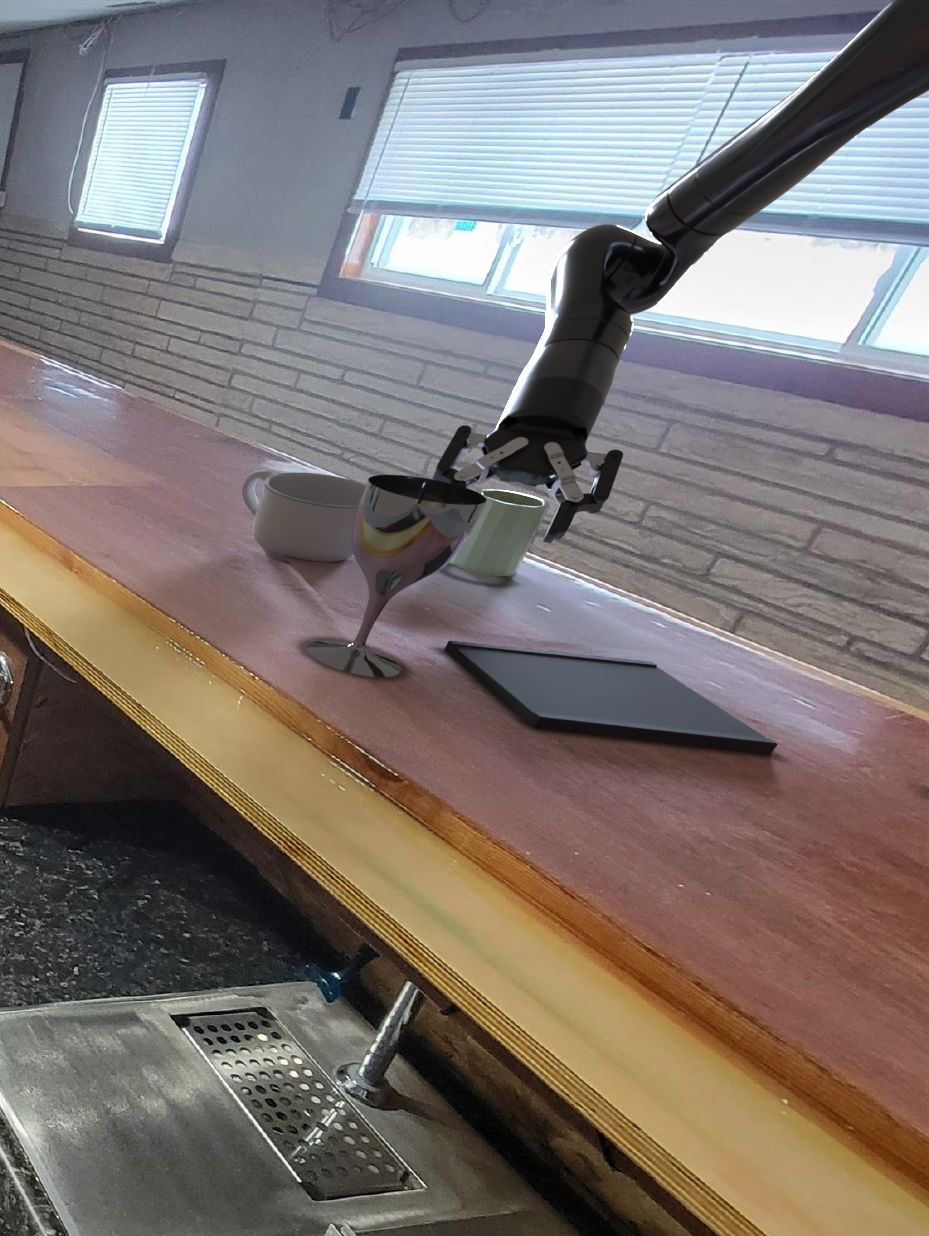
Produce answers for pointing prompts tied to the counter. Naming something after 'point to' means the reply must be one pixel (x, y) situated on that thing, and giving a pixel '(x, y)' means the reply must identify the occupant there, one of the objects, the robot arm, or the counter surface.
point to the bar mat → (604, 697)
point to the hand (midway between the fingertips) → (497, 528)
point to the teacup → (303, 514)
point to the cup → (501, 533)
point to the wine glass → (399, 553)
